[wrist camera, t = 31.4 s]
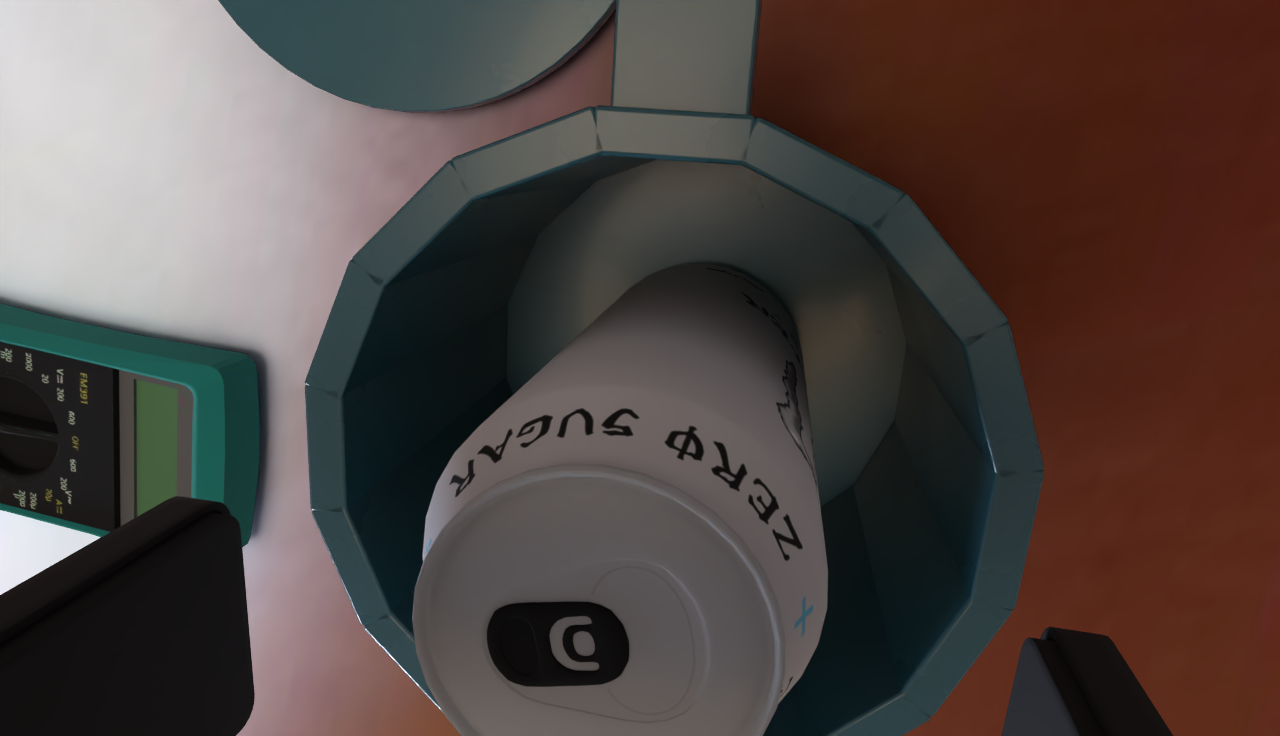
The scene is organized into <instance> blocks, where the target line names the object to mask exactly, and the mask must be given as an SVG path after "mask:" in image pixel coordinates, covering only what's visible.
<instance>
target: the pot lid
mask: <svg viewBox="0 0 1280 736" xmlns="http://www.w3.org/2000/svg"><path fill="white" fill-rule="evenodd" d="M218 1H219V2H220V3H221V4H222V6H223V7H224V8H225V9H226V11H227V12H228V13H229V15H230V16H231V17H232V18H233V20H234V21H235V22H236V24H237V25H238V26H239V27H240V28H241V29H242V30H243V31H244V32H245V33H246V34H247V35H248V36H249V37H250V38H251V39H252V40H253V41H254V42H255V43H256V44H257V45H258V46H259V47H260V48H261V49H262V50H263V51H265V52H266V53H267V54H268V55H270V56H271V57H272V58H273V59H275V60H276V61H277V62H279V63H280V64H281V65H282V66H284V67H285V68H286V69H287V70H289V71H291V72H292V73H294V74H296V75H297V76H299V77H301V78H302V79H304V80H305V81H307V82H309V83H310V84H312V85H314V86H316V87H318V88H320V89H322V90H325V91H327V92H329V93H331V94H334V95H336V96H338V97H341V98H343V99H346V100H349V101H353V102H356V103H360V104H363V105H367V106H370V107H374V108H380V109H388V110H395V111H402V112H411V113H435V112H449V111H456V110H462V109H469V108H474V107H478V106H481V105H484V104H487V103H491V102H494V101H497V100H500V99H504V98H506V97H508V96H510V95H512V94H514V93H516V92H518V91H520V90H523V89H525V88H527V87H529V86H531V85H533V84H535V83H536V82H538V81H539V80H541V79H542V78H544V77H545V76H547V75H548V74H550V73H551V72H553V71H554V70H556V69H557V68H559V67H560V66H562V65H563V64H564V63H565V62H566V61H567V60H568V59H570V58H571V57H572V56H573V55H574V54H575V53H576V52H578V51H579V50H580V49H581V48H582V47H583V46H584V45H586V44H587V42H588V41H589V40H590V39H591V38H592V37H593V36H594V35H595V33H596V32H597V31H598V30H599V29H600V28H601V27H602V25H603V24H604V23H605V22H606V21H607V20H608V19H609V17H610V16H611V15H612V13H613V12H614V10H615V9H616V0H218Z"/></svg>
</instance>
